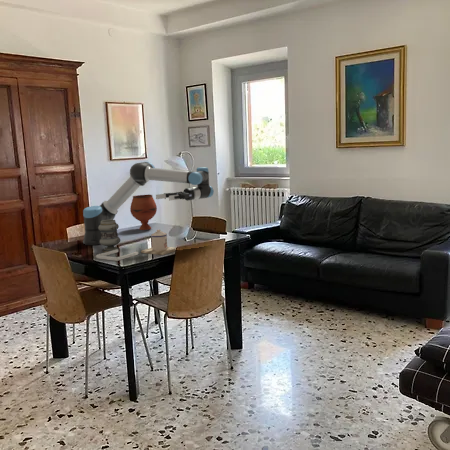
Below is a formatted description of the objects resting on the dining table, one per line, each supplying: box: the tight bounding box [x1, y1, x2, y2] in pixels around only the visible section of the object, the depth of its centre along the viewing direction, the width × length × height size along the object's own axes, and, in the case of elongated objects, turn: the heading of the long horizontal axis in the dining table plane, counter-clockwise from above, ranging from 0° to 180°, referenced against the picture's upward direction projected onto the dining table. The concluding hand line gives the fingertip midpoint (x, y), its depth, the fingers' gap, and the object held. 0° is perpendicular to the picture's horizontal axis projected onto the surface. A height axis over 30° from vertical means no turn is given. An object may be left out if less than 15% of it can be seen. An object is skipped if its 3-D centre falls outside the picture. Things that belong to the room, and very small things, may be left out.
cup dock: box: [95, 249, 139, 262], centre depth 274 cm, size 23×16×2 cm
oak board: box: [140, 246, 176, 256], centre depth 280 cm, size 16×14×1 cm
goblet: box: [129, 194, 158, 231], centre depth 358 cm, size 19×19×25 cm
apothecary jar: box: [98, 219, 121, 253], centre depth 288 cm, size 12×12×18 cm
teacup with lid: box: [150, 229, 168, 251], centre depth 279 cm, size 12×9×12 cm
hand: (162, 197), depth 285 cm, fingers open, 13 cm apart
